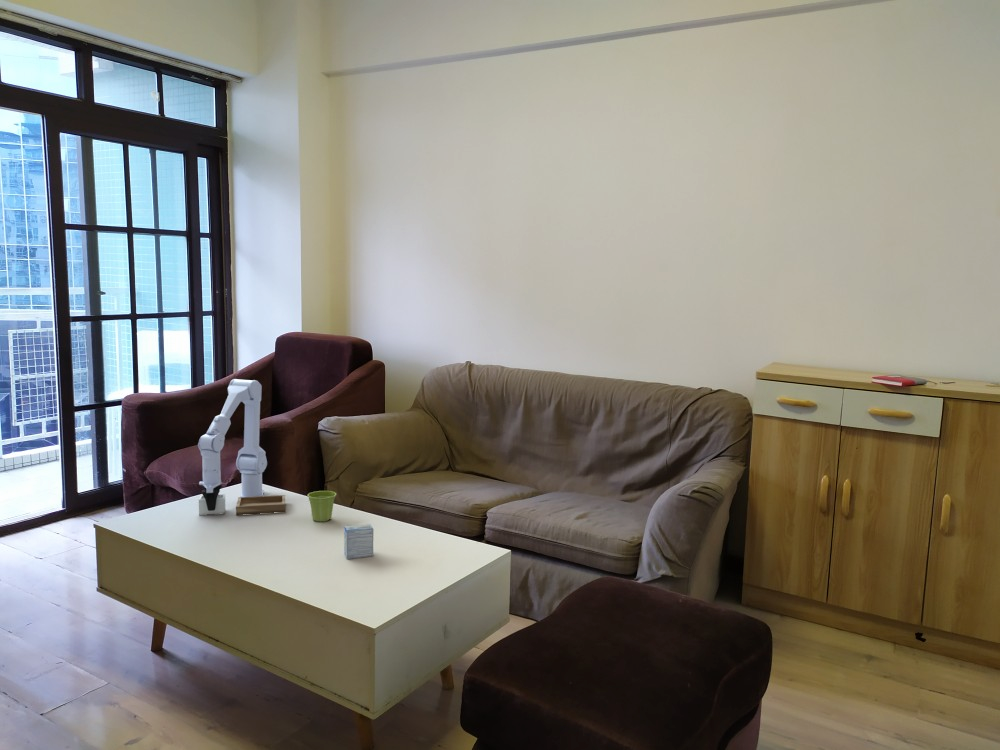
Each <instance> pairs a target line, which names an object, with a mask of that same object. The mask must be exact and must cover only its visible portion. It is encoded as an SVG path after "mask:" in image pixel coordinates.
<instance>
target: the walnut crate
mask: <svg viewBox="0 0 1000 750" xmlns="http://www.w3.org/2000/svg"><path fill="white" fill-rule="evenodd" d="M274 512H285V513H286V494H279V495H277V494H275V495H263V496H253V497H239V496H238V497H237V502H236V506H235V516H244V515H243V514H253V515H261V514H260V513H271V514H275V513H274Z"/></svg>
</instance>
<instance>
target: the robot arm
mask: <svg viewBox="0 0 1000 750" xmlns="http://www.w3.org/2000/svg"><path fill="white" fill-rule="evenodd" d="M262 387H263V386H262V384H261V382H259V381H258V380H255V379H253V380H250V379H238V378H233V379H232V380H230V382H229V384H228V387H227V394H228V395H227V398H226V399H225V402H224V405H223V407H222V409H221V412H220V414H218V415H216V416H214V418H213V420H212V422H211V424H210V425H209V428H208V429H207V431H206V433H205V434H203V435H201V436H200V438H199V440H198V443H197V447H198V450H199V451H200V456H201V458H202V466H201V467H202V481H199V483H198V485H199V486H202V487H203V488H204V489H202V490H201V494H202V495H203V496H204V498H205V500H206V504H207V509H208V511H213V510H215V507H216V500H217V496H218V495H220V491H221V488H222V486H223V484H222V479H221V478H222V477H221V475H222V473H221V451H222V449H223V448H224V446H225V439H226V437H225V436H226V434H227V432H228V430H229V428H230V426H231V424H232V423H231V417H232V416H233V414H234V412H235V411H236V409H237V408H238V406H239V405H240V404H241V403H243V404H244V424H243V425H244V430H243V447H241V448H240V449H239V450H238V452H237V458H236V460H235V466H236V468H237V470H238V471H239V473H241V493H240V497H253V496H264V494H263V493H265V490H264V489H263V473H264V472H265V470H266V468H267V466H268V461H267V456H266V455H267V454H266V451H265V450H264V449H263V448H262V447H261V446H260V419H261V416H260V415H261V401H262ZM202 495H201V496H202Z"/></svg>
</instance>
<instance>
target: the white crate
mask: <svg viewBox="0 0 1000 750" xmlns="http://www.w3.org/2000/svg"><path fill="white" fill-rule="evenodd" d="M224 512H226V494H225V493H224V494H218V496H217V500H216V507H215V510H213V511H208V509H207V504H206V500H205V498H204V496H203V495H200V496H199V498H198V515H199V516H208V515H207V514H215V515H221V514H220V513H224ZM224 514H225V513H224Z"/></svg>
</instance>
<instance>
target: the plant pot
mask: <svg viewBox="0 0 1000 750" xmlns="http://www.w3.org/2000/svg"><path fill="white" fill-rule="evenodd" d="M336 496H337V492H335V491H331V490H318V491H313V492H309V493H308V494H307V498H308V500H309V503H310V509H311V518H312V520H313V521H314V520H315V521H316V522H318V521H323V522H327V521H330V520H329V519H331V520H332V515H333V509H334V503H335V499H336ZM326 520H327V521H326Z"/></svg>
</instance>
